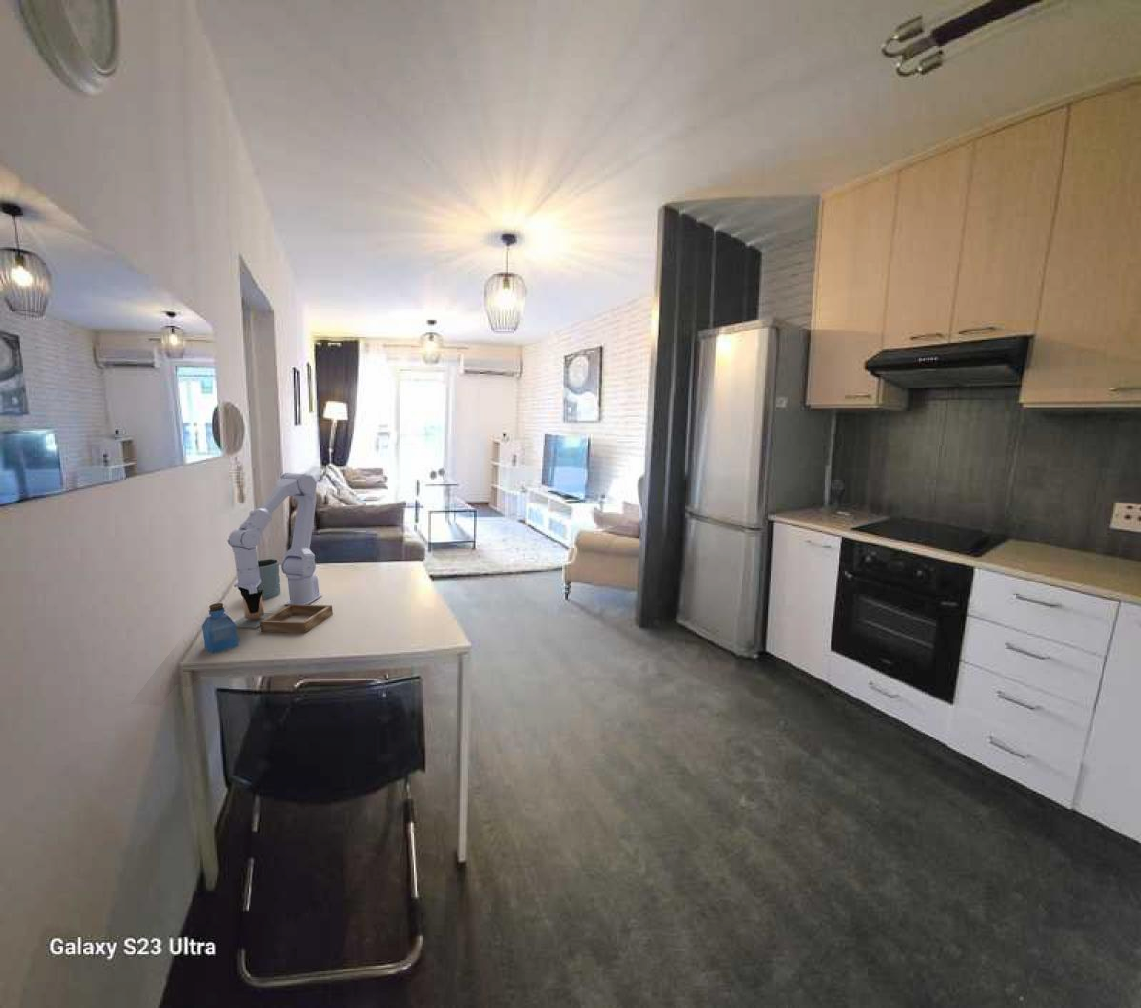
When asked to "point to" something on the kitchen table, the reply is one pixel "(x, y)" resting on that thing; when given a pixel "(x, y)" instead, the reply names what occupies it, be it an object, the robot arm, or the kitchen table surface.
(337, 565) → the kitchen table surface
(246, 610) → the terracotta pot
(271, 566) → the green pot
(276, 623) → the wooden square frame
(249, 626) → the slate mat
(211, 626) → the perfume bottle
